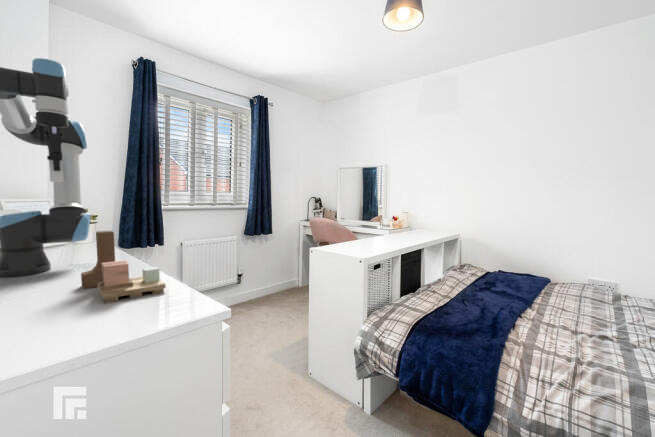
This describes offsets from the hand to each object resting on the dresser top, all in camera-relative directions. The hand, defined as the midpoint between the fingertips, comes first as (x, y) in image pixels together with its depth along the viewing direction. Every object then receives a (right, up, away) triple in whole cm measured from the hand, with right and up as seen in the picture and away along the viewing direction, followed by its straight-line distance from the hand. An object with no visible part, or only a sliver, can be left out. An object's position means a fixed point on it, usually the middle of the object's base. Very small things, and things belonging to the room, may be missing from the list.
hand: (56, 181), depth 97 cm
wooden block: (+9, -34, +6) cm, 36 cm away
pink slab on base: (+22, -33, -4) cm, 39 cm away
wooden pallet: (+25, -35, -1) cm, 43 cm away
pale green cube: (+29, -32, +3) cm, 43 cm away
